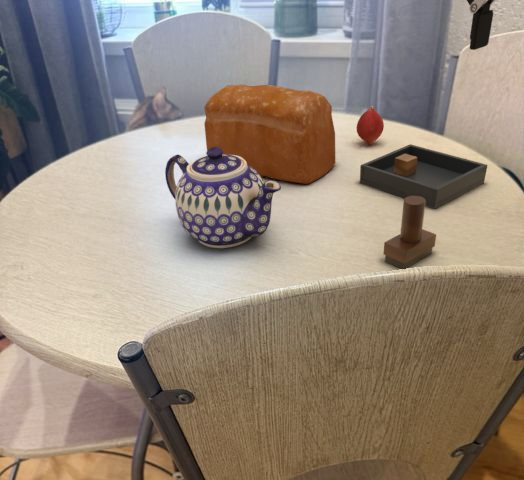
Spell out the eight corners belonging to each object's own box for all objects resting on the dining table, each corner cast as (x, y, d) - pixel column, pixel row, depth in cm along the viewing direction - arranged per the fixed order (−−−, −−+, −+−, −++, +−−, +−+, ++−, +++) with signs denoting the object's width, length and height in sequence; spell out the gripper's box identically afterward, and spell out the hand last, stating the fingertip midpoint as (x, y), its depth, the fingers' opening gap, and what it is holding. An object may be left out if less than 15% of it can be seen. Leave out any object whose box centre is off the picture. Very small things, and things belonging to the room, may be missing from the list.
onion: (354, 148, 118) (355, 110, 113) (358, 139, 122) (359, 102, 117) (380, 148, 117) (383, 110, 112) (383, 139, 121) (386, 102, 116)
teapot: (146, 232, 94) (126, 148, 85) (208, 201, 102) (195, 121, 93) (249, 275, 80) (238, 180, 71) (310, 236, 88) (308, 146, 79)
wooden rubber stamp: (412, 244, 84) (419, 188, 78) (433, 253, 81) (442, 195, 75) (382, 261, 80) (387, 204, 75) (403, 270, 78) (410, 212, 72)
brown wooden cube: (416, 172, 103) (417, 156, 101) (405, 177, 101) (407, 161, 99) (403, 168, 105) (405, 153, 103) (393, 173, 103) (394, 157, 101)
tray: (484, 183, 99) (487, 164, 97) (434, 209, 92) (437, 189, 90) (408, 161, 110) (410, 144, 108) (359, 182, 103) (360, 165, 101)
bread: (240, 147, 124) (233, 74, 114) (340, 164, 112) (342, 82, 102) (203, 168, 116) (191, 91, 106) (307, 188, 103) (304, 103, 93)
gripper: (655, -144, 52) (598, 53, 63) (494, -126, 63) (470, 39, 74) (618, -141, 49) (565, 66, 59) (456, -122, 59) (436, 50, 70)
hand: (512, 51), depth 67 cm, fingers open, 9 cm apart
